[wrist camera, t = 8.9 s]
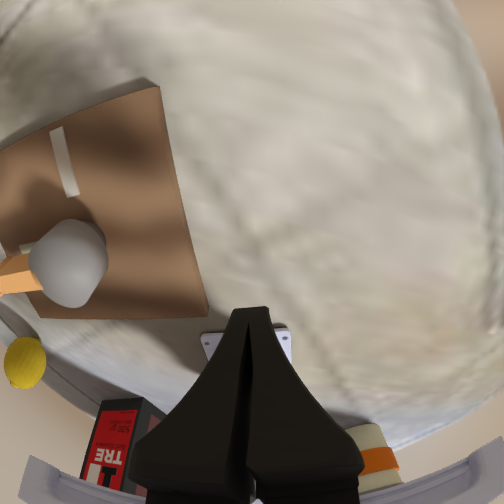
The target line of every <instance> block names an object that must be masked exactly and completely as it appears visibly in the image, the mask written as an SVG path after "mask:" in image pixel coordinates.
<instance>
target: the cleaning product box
mask: <svg viewBox="0 0 504 504" xmlns="http://www.w3.org/2000/svg"><path fill="white" fill-rule="evenodd" d="M166 416H167V415H166V414H165V413H164V412H162V411H161V410H159V409H158V408H157V407H156V406H154V405H153V404H152V403H150V402H149V401H148V400H146V399H145V398H144V397H142V398H131V399H119V400H102V403H101V406H100V409H99V412H98V415H97V418H96V421H95V425H94V428H93V431H92V434H91V438H90V441H89V444H88V448H87V451H86V455H85V458H84V462H83V466H82V470H81V473H80V477H79V479H82V480H85V481H88V482H91V483H94V484H97V485H100V486H103V487H106V488H110V489H113V490H117V491H120V492H124V493H128V494H132V495H136V496H141V497H145V498H146V495H147V489H146V488H144V487H142V486H140V485H138V484H136V483H134V482H132V481H131V480H129V478H128V477H127V470H128V465H129V461H130V456H131V453H132V451H133V448H134V445H135V443H136V442H137V441H138V440H140V439H141V438H142V437H143V436H144V435H146V434H147V433H148V432H149V431H150V430H152V429H153V428H154V427H155V426H156V425H157V424H159V423H160V422H161V421H162V420H163V419H164V418H165V417H166Z"/></svg>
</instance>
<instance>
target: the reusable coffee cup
mask: <svg viewBox="0 0 504 504" xmlns="http://www.w3.org/2000/svg"><path fill="white" fill-rule="evenodd" d="M345 431H346V432H347V433H348V434H349V435H350V436H351V437H352V438H353V439H354V441H355V443H356V445H357V446H358V448H359V450H360V452H361V454H362V457H363V459H364V463H365V468H364V470H363V471H362V472H361V473H360V474H359V475H358V479H359V487H358V492H359V496H361V495H365V494H369V493H373V492H377V491H380V490H384V489H387V488H391V487H394V486H397V485H401V484H404V482H402V481H401V479H400V476H399V473H398V470H399V466H398V464H397V461H396V458H395V456H394V454H393V451H392V449H391V448H390V447H388V445H387V443H386V440H385V438H384V436H383V433H382V431H381V428H380V426H379V425H377V424H364V425H359V426H355V427H351V428H348V429H346V430H345Z"/></svg>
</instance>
